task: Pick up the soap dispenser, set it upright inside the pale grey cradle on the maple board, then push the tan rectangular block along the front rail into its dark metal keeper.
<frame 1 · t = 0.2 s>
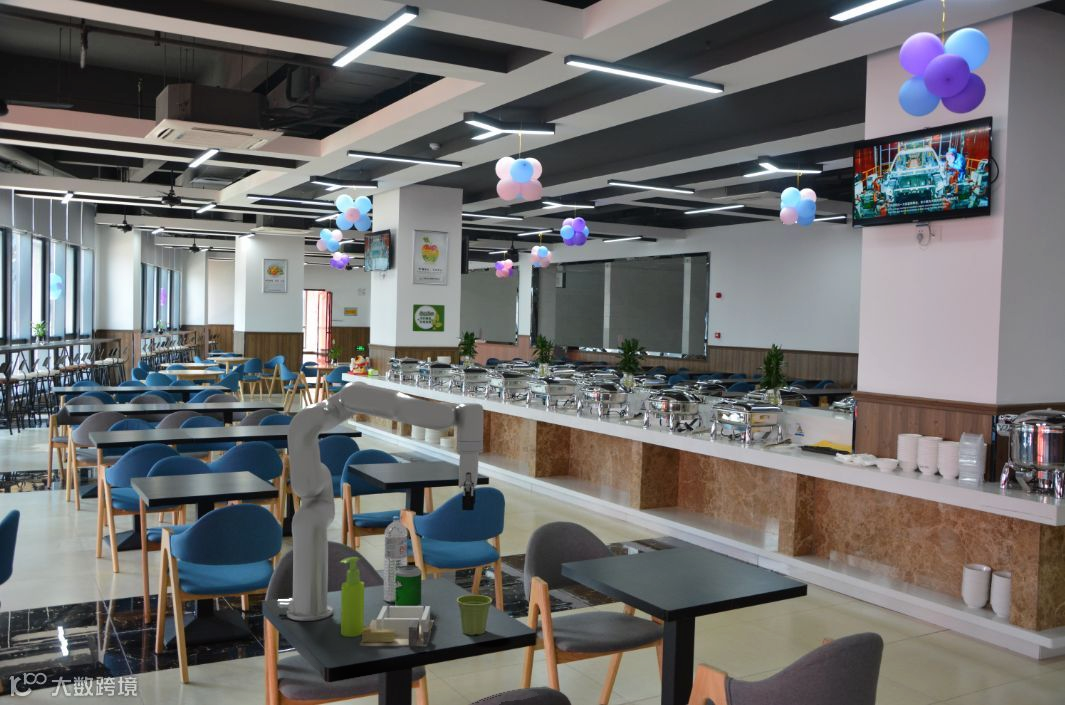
hand: (468, 507, 240), 31 cm above the table, tool pointing down, fingers open, 9 cm apart
soda can: (408, 609, 246), on the table
water bottle: (394, 600, 255), on the table
tan rectangular block: (378, 633, 216), point 2 cm above the table, slide at 0.0 cm
base board: (398, 633, 225), on the table
dock: (403, 628, 228), resting on base board
plant pot: (473, 632, 227), on the table
soap dispenser: (350, 634, 224), on the table
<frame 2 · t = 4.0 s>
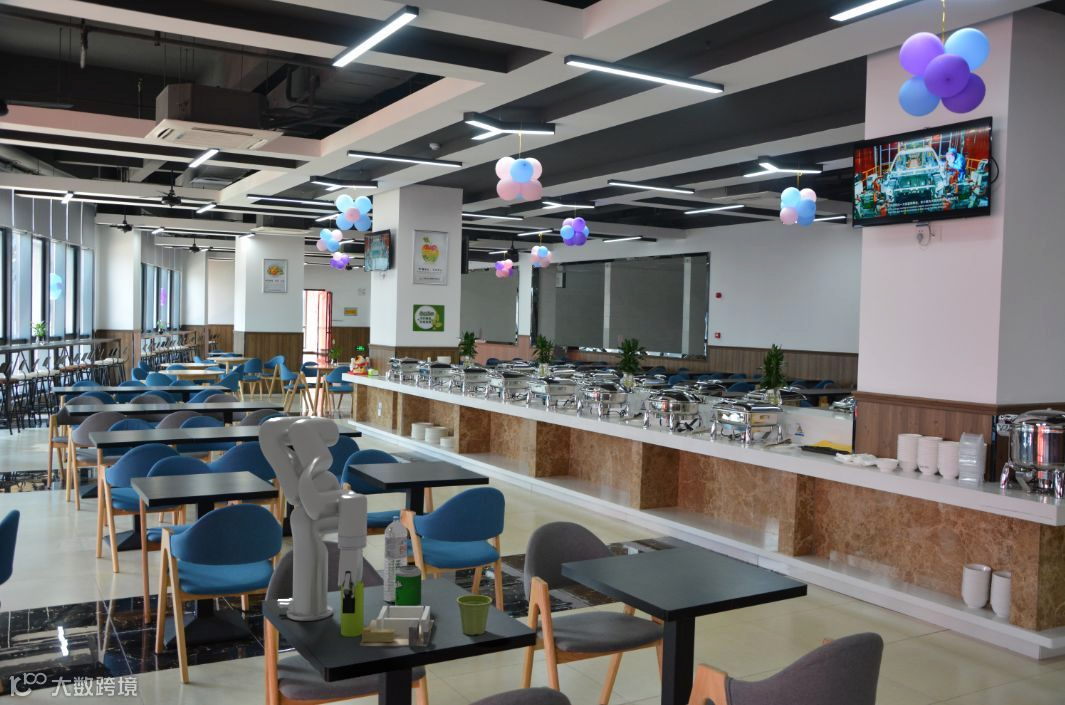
hand: (351, 608, 224), 7 cm above the table, tool pointing down, fingers closed on soap dispenser, 6 cm apart
soap dispenser: (350, 633, 224), on the table, touching gripper
everything else where it was.
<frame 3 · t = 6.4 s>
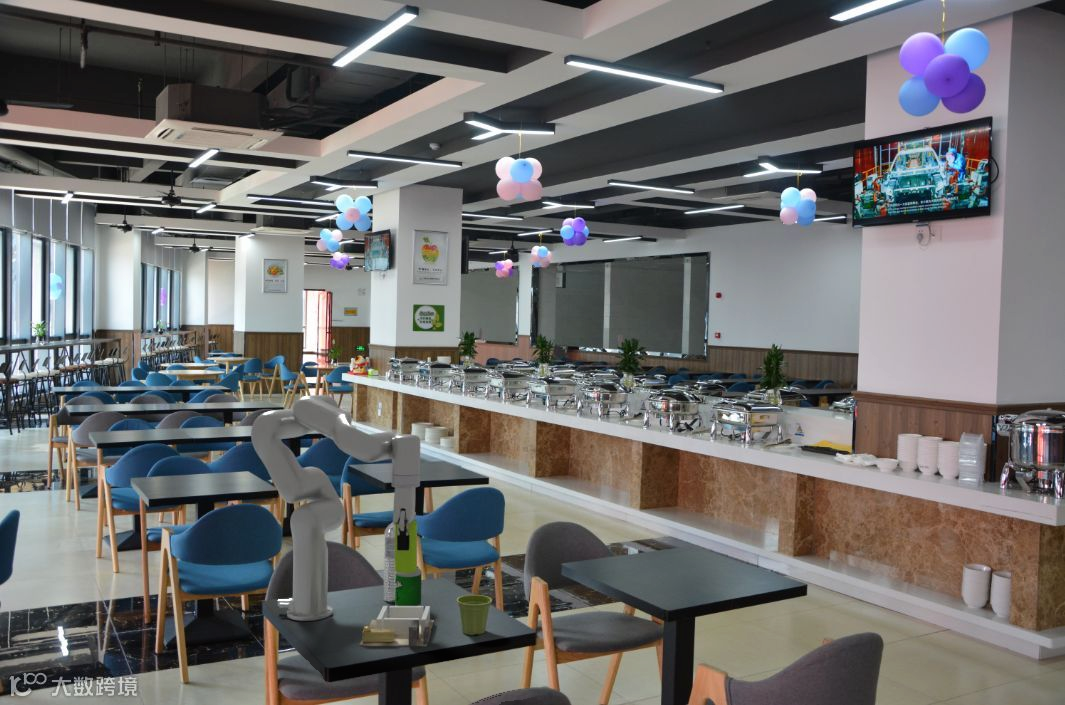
hand: (404, 546, 228), 22 cm above the table, tool pointing down, fingers closed on soap dispenser, 6 cm apart
soap dispenser: (404, 571, 228), point 16 cm above the table, touching gripper
everything else where it was.
when the fingers open (8 cm above the table, at t = 9.3 s): soap dispenser drops 1 cm, resting on base board.
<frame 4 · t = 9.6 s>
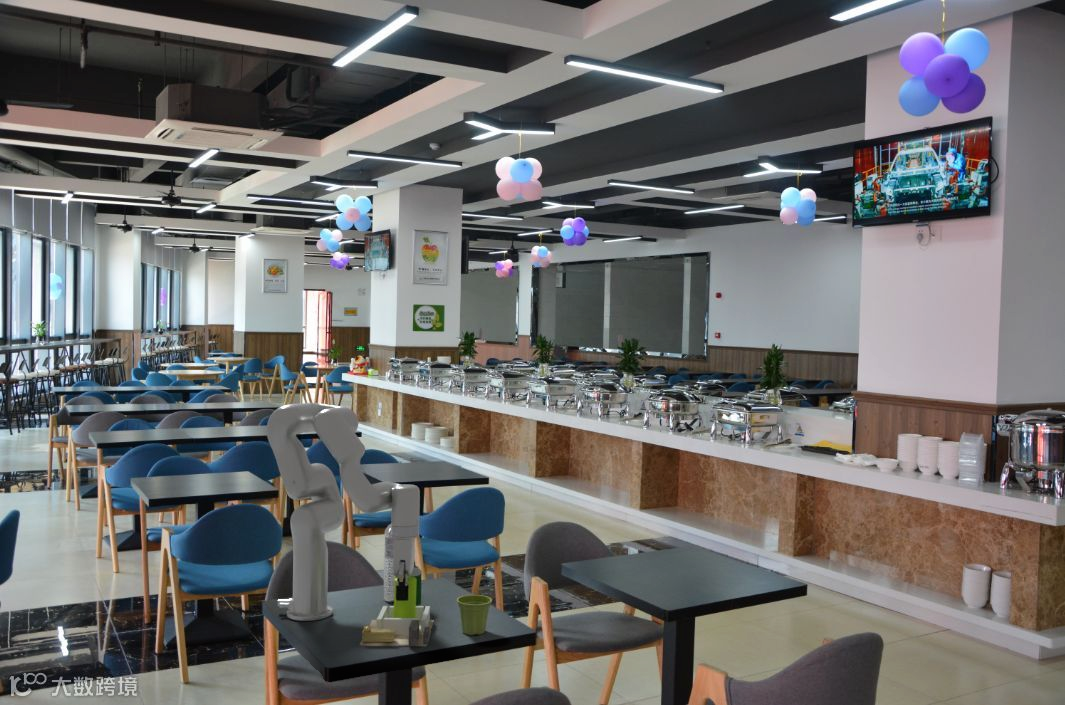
hand: (404, 595, 228), 9 cm above the table, tool pointing down, fingers open, 8 cm apart
soap dispenser: (402, 628, 227), resting on base board
everything else where it was.
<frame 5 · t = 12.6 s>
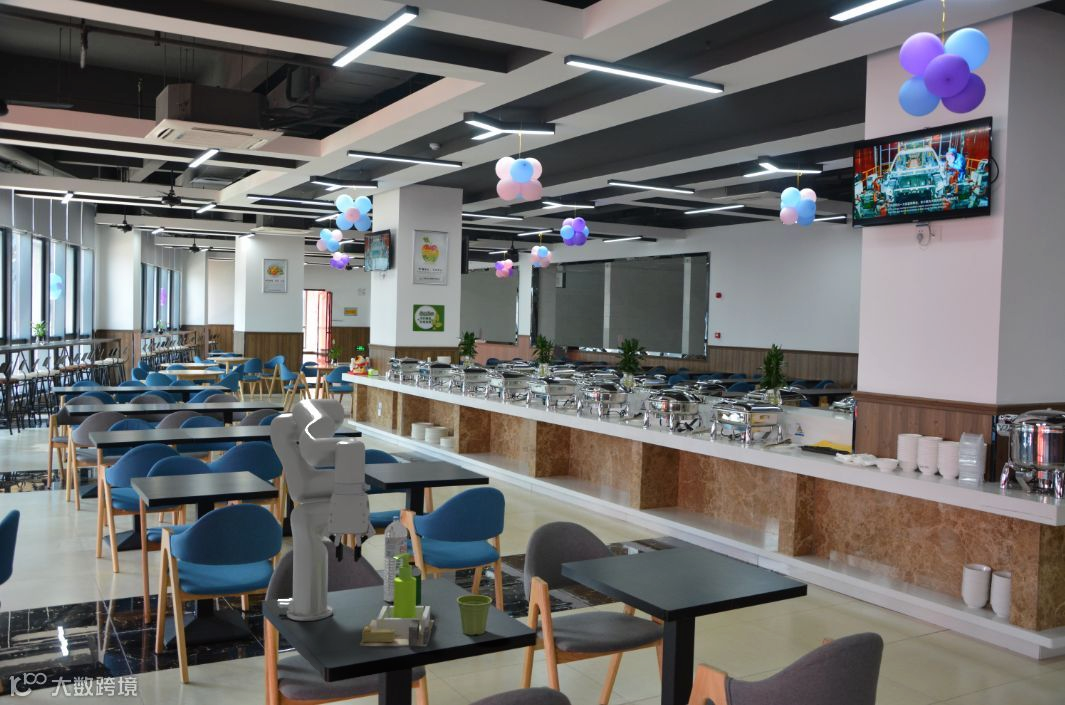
hand: (348, 560, 216), 21 cm above the table, tool pointing down, fingers open, 3 cm apart
nothing on the table moved.
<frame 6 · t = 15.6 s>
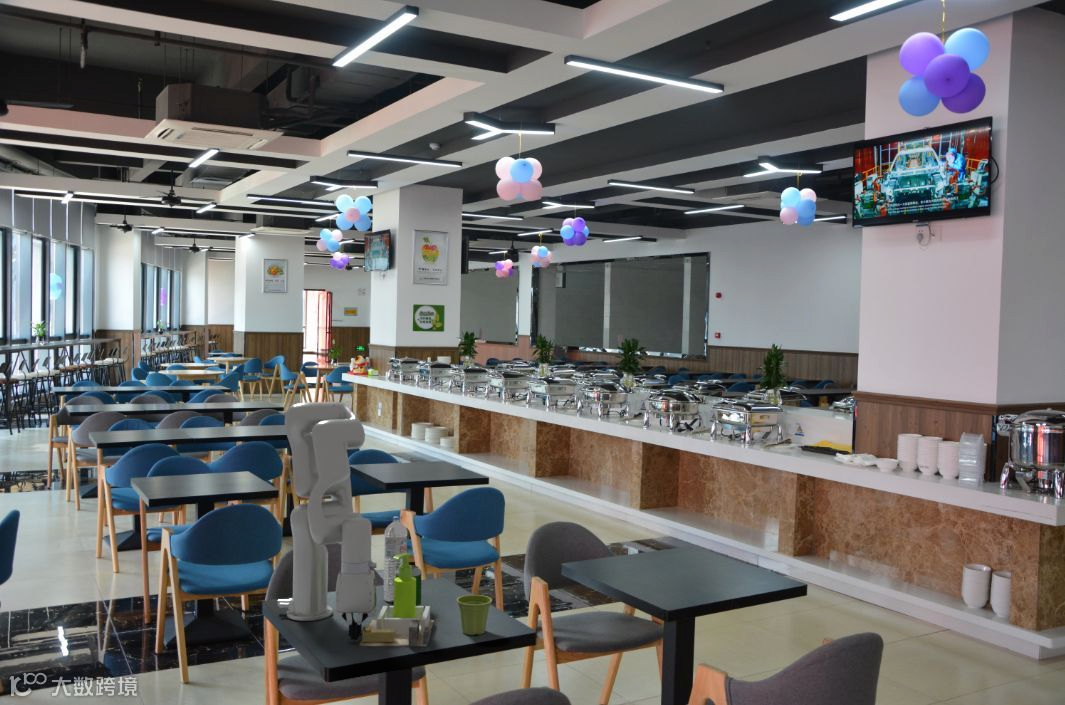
hand: (355, 638, 216), 1 cm above the table, tool pointing down, fingers closed
tan rectangular block: (379, 633, 216), point 2 cm above the table, slide at 0.1 cm, touching gripper
everything else where it was.
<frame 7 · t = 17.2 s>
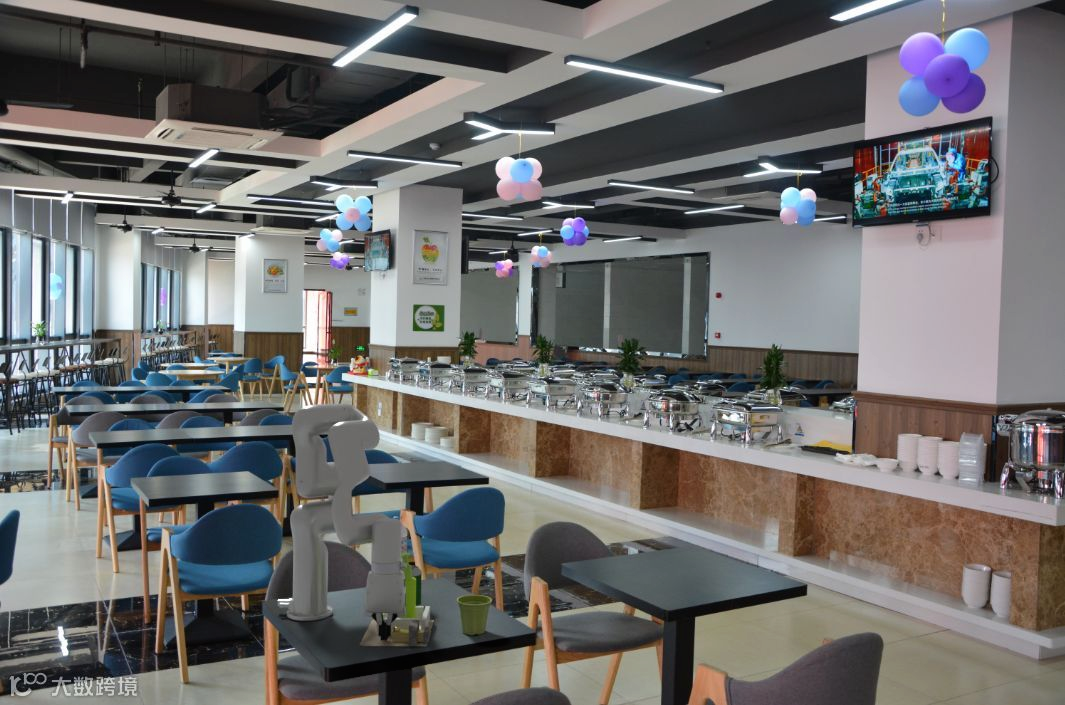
hand: (384, 638, 216), 1 cm above the table, tool pointing down, fingers closed
tan rectangular block: (408, 633, 217), point 2 cm above the table, slide at 7.6 cm, touching base board, gripper
everything else where it was.
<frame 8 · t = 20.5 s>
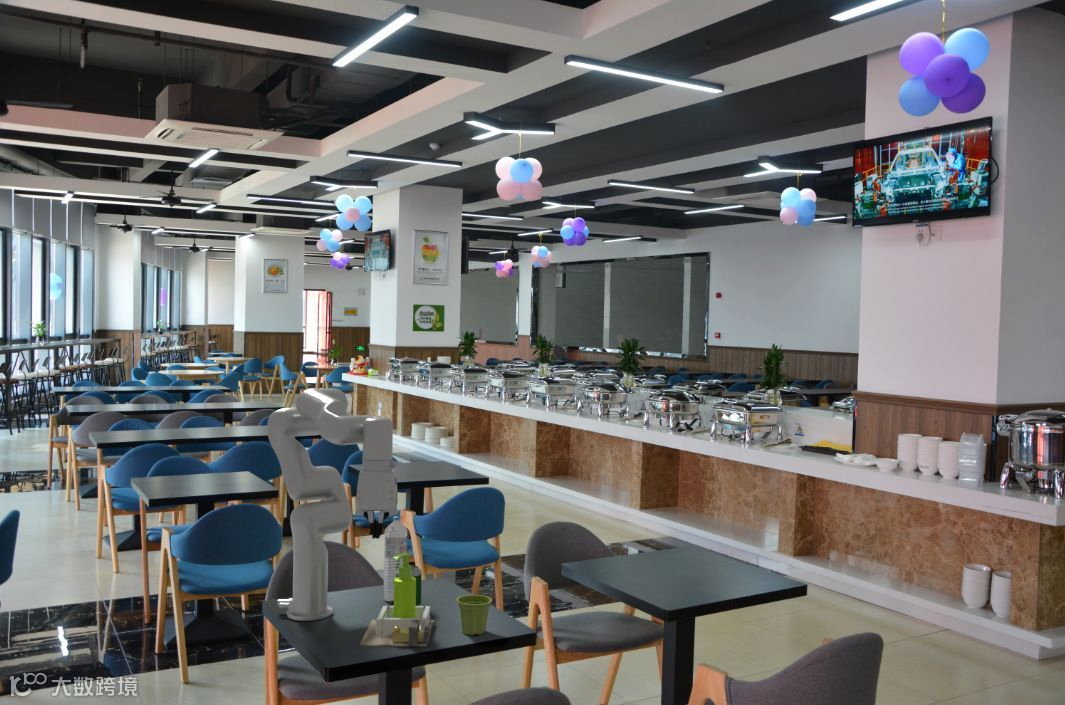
hand: (376, 537, 217), 27 cm above the table, tool pointing down, fingers closed
tan rectangular block: (408, 633, 217), point 3 cm above the table, slide at 7.6 cm, touching base board
everything else where it was.
at the end: soap dispenser inside the target area on the dock (0.7 cm from its centre), point 0.2 cm above the dock's base; soap dispenser tilted 0°; tan rectangular block slide at 7.6 cm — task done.
